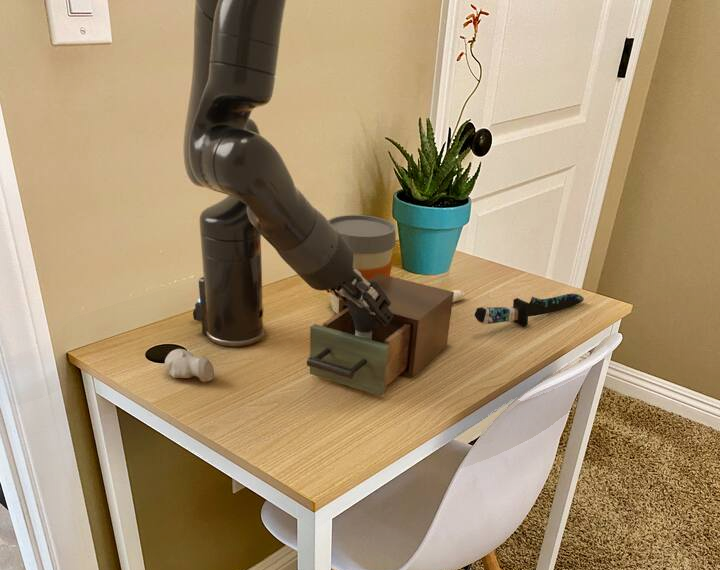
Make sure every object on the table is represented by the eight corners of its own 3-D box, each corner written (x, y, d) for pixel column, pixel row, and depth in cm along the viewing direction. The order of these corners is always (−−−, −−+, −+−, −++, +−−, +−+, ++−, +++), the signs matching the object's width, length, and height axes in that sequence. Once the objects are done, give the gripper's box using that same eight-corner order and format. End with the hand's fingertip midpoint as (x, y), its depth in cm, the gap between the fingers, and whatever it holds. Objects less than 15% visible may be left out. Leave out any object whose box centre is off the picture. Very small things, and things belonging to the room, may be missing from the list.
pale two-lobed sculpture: (161, 380, 114) (184, 360, 116) (199, 396, 110) (221, 375, 113) (151, 358, 111) (175, 338, 113) (189, 374, 107) (213, 353, 109)
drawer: (364, 412, 105) (368, 362, 101) (290, 388, 110) (290, 339, 105) (417, 364, 118) (423, 318, 114) (349, 344, 123) (351, 299, 118)
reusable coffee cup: (392, 298, 142) (399, 217, 133) (387, 325, 132) (394, 240, 123) (327, 292, 143) (329, 211, 134) (317, 318, 133) (318, 233, 124)
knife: (475, 334, 128) (481, 309, 125) (463, 327, 130) (469, 302, 127) (589, 317, 145) (597, 295, 142) (578, 312, 147) (585, 289, 144)
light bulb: (345, 336, 115) (348, 273, 109) (381, 339, 115) (386, 275, 109) (343, 352, 110) (346, 287, 104) (381, 355, 110) (386, 289, 104)
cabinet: (412, 378, 116) (418, 320, 111) (336, 355, 121) (338, 299, 116) (446, 346, 126) (454, 291, 121) (375, 326, 131) (379, 273, 126)
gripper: (365, 238, 93) (422, 308, 107) (294, 209, 101) (356, 278, 115) (331, 288, 93) (393, 352, 107) (263, 255, 101) (328, 318, 115)
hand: (373, 313), depth 111 cm, fingers closed on light bulb, 5 cm apart
